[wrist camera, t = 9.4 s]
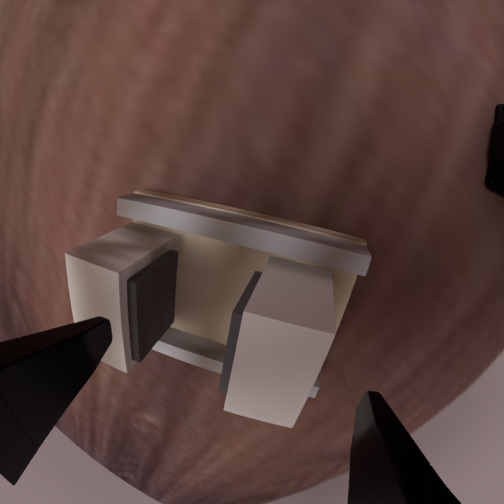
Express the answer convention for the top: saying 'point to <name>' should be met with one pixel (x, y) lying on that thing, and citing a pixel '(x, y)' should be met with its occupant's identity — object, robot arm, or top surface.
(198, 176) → the top surface
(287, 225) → the beige clamp block
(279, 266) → the block
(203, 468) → the top surface
